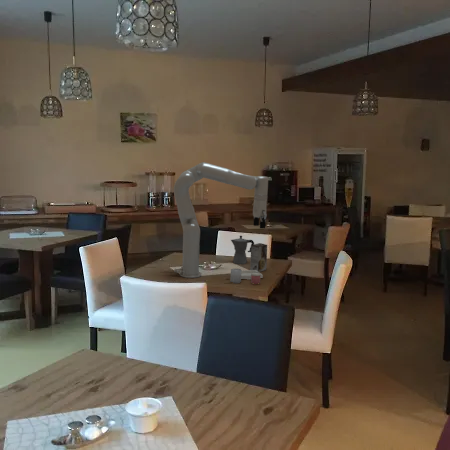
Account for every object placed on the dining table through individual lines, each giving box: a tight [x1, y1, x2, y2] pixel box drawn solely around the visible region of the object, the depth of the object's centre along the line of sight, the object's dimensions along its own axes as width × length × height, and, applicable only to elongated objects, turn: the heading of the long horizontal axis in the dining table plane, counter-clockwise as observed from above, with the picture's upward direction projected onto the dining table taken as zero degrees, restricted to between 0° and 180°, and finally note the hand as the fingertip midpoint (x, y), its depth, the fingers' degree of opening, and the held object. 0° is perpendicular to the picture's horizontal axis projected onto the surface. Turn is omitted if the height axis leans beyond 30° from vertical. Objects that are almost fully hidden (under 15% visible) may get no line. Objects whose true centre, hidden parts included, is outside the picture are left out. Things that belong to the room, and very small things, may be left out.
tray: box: [241, 269, 264, 280], centre depth 299 cm, size 13×12×2 cm
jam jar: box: [250, 272, 262, 284], centre depth 284 cm, size 5×5×6 cm
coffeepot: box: [230, 235, 255, 265], centre depth 333 cm, size 15×9×18 cm, turn 82°
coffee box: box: [249, 242, 268, 273], centre depth 314 cm, size 9×6×16 cm
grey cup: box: [229, 268, 242, 284], centre depth 286 cm, size 6×6×7 cm
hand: (259, 226), depth 298 cm, fingers open, 9 cm apart
